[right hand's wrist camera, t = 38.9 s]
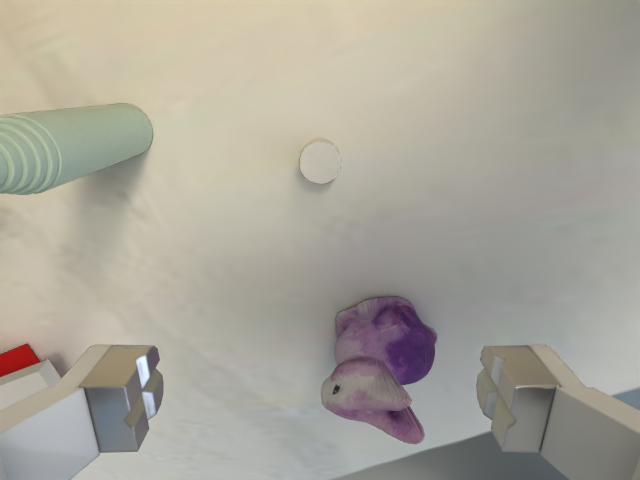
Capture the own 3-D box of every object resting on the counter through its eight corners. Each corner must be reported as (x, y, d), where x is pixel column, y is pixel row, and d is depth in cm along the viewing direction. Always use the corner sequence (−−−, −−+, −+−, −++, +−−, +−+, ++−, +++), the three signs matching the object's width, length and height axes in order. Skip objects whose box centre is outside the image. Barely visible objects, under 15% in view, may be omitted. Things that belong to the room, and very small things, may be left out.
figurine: (312, 331, 46) (308, 441, 32) (380, 271, 43) (410, 362, 29) (370, 380, 48) (391, 503, 34) (438, 327, 46) (491, 435, 32)
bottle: (121, 91, 37) (-90, 99, 18) (163, 130, 38) (7, 176, 19) (91, 130, 38) (-137, 175, 19) (133, 166, 40) (-43, 243, 20)
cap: (295, 145, 39) (293, 148, 37) (333, 133, 38) (334, 136, 36) (307, 182, 40) (306, 188, 38) (344, 171, 40) (346, 177, 37)
